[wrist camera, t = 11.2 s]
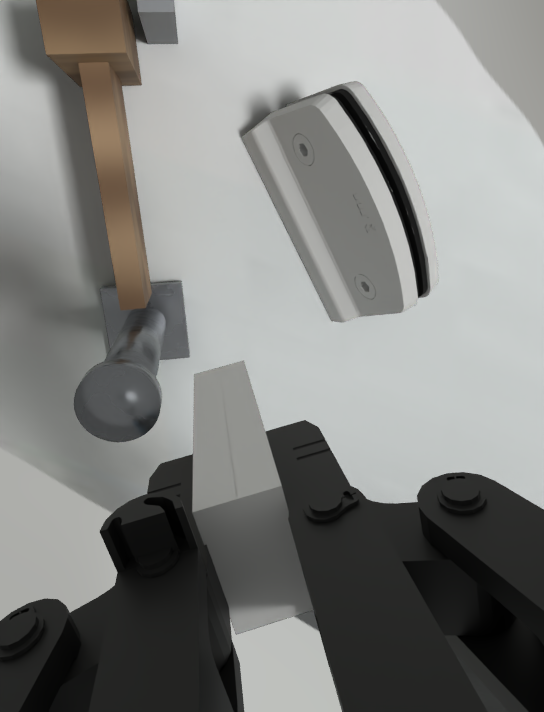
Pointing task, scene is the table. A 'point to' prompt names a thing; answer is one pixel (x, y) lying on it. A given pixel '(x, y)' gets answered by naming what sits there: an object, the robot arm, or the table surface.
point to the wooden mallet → (105, 120)
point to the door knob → (132, 364)
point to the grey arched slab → (348, 201)
